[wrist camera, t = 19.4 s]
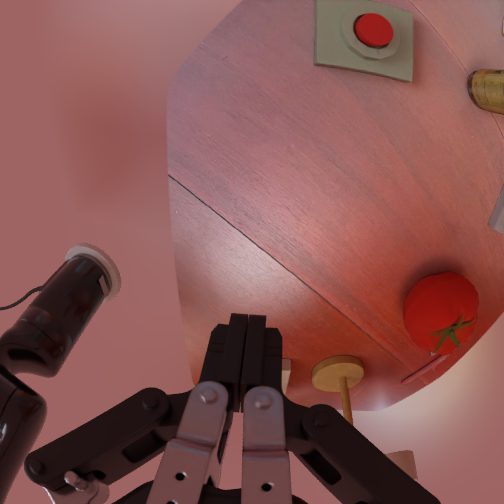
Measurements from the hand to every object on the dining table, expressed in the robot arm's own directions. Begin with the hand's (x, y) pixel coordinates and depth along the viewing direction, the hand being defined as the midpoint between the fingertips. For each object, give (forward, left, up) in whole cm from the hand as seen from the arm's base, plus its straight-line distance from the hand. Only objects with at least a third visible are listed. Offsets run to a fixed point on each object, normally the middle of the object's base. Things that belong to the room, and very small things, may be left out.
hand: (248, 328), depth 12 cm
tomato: (+30, -18, -27) cm, 44 cm away
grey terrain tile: (+43, 0, -27) cm, 51 cm away
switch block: (+11, +19, -27) cm, 35 cm away
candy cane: (+39, -39, -27) cm, 61 cm away
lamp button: (+11, +19, -23) cm, 32 cm away
